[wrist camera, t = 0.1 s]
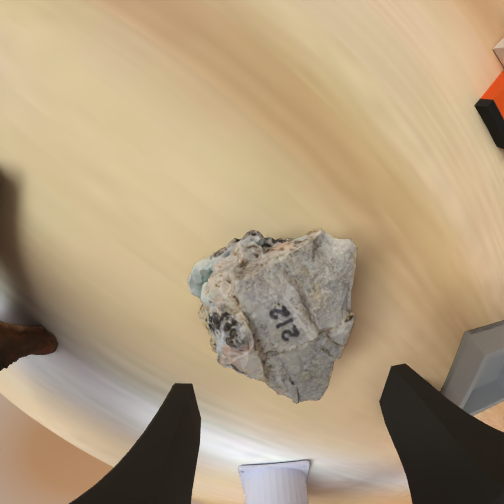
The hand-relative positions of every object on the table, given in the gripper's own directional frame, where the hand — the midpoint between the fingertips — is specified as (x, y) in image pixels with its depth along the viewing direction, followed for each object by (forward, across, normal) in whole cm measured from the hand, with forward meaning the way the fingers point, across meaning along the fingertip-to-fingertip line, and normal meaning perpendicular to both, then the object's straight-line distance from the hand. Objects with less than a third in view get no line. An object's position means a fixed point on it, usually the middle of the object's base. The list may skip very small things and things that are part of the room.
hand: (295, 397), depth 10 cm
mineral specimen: (+10, 0, +1) cm, 10 cm away
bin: (+10, -23, +12) cm, 28 cm away
